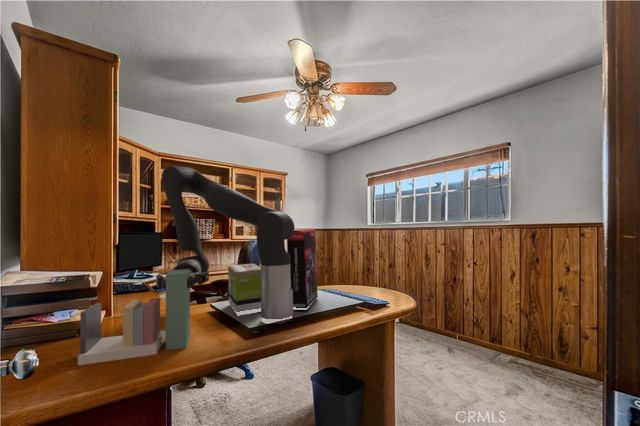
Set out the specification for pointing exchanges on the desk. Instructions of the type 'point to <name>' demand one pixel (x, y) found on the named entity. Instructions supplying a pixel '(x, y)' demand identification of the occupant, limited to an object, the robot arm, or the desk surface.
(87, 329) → the bookend
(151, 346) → the shelf
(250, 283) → the tea box
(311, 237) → the graphics card box
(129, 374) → the desk surface
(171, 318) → the book
